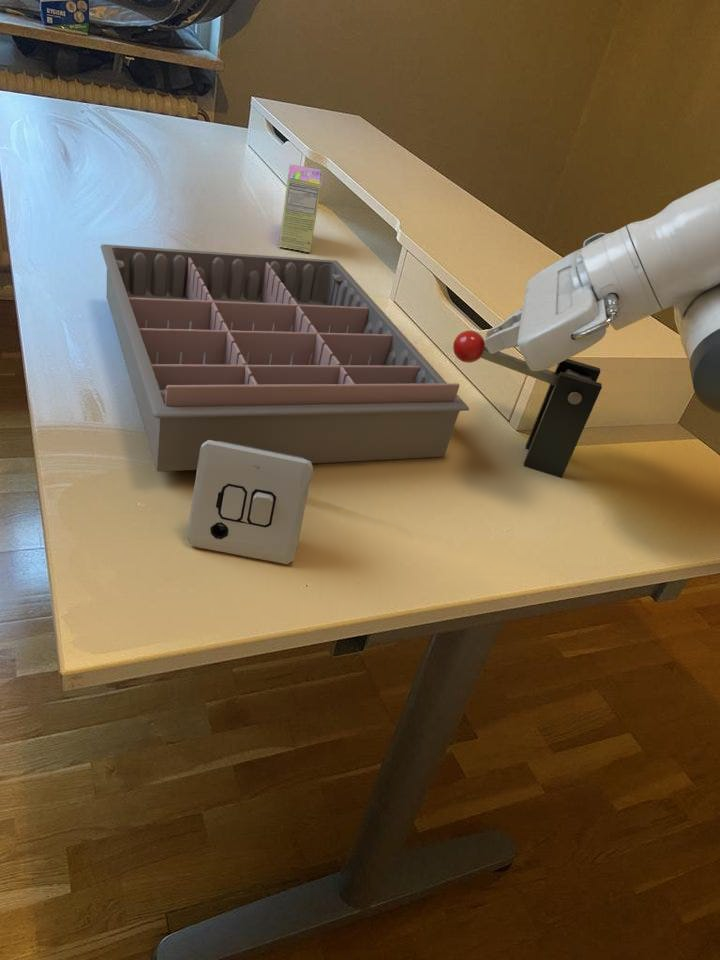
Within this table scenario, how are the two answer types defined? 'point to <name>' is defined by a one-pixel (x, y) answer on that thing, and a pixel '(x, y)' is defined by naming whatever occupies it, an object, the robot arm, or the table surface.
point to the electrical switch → (248, 501)
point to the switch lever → (500, 357)
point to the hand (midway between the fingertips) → (487, 343)
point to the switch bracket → (562, 418)
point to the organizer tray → (270, 359)
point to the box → (300, 208)
